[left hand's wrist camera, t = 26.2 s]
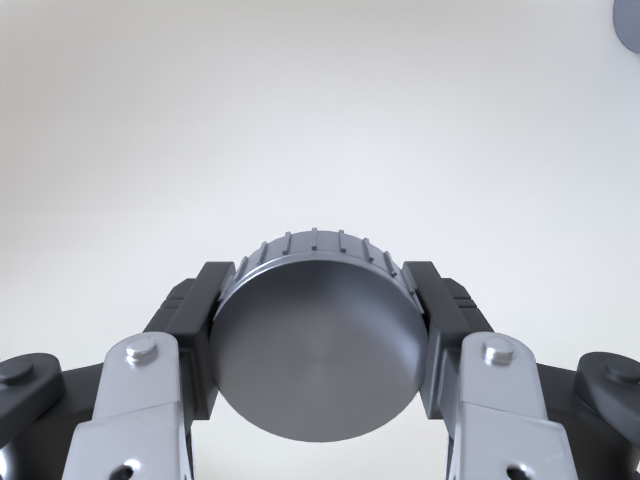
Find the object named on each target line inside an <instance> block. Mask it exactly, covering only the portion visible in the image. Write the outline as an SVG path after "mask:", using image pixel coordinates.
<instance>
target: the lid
mask: <svg viewBox="0 0 640 480" xmlns="http://www.w3.org/2000/svg"><path fill="white" fill-rule="evenodd" d="M218 301H220V302H221V303H220V305H219V308H218V310H217V312H216V314H215V317H214V319H213V323H212V326H211V330H210V334H209V347H210V355H211V364H212V372H213V378H214V381H215V383H216V386H217V387H218V389H219V391H220V392H221V394H222V396H223V397H224V398H225V400H226V401H227V402H228V404H229V405H230V406H231V407H232V408H233V409H234V410H235V411H236V412H237V413H238V414H239V415H241V416H242V417H243V418H245V419H246V420H247V421H249V422H250V423H252V424H254V425H255V426H257V427H258V428H260V429H263V430H265V431H267V432H269V433H271V434H274V435H277V436H280V437H283V438H288V439H292V440H297V441H305V442H334V441H341V440H346V439H351V438H354V437H358V436H361V435H364V434H366V433H369V432H371V431H373V430H375V429H377V428H379V427H381V426H383V425H385V424H386V423H388V422H389V421H390V420H392V419H393V418H395V417H396V416H397V415H398V414H399V413H400V412H402V411H403V410H404V409H405V408H406V407H407V405H408V404H409V403H410V402H411V401H412V400H413V398H414V397H415V395H416V394H417V392H418V391H419V389H420V387H421V385H422V383H423V381H424V376H425V368H426V359H427V350H428V340H429V339H428V331H427V328H426V325H425V322H424V319H423V317H425V313H424V310H423V308H422V306H421V304H420V301H419V299H418V297H417V295H416V292H415V290H414V289H413V288H412V286H411V283H410V281H409V279H408V276H407V274H406V272H405V270H404V269H401V270H400V269H399V268H398V266H397V265H396V264H395V263H394V262H393V261H392V258H391V256H390V253H389V252H387V251H386V252H385V253H383V252H382V251H381V250H380V249H378V248H377V247H375V246H373V245H372V244H370V243H369V239H367V238H364V239H363V240H362V239H359V238H357V237H354V236H351V235H347V234H344V231H343V230H339V233H338V232H332V231H317V228H312V231H307V232H299V233H295V234H291V232H286V235H285V236H284V237H281V238H278V239H276V240H274V241H272V242H270V243H268V244H267V242H266V241H265V242H263V243H262V245H261V248H260V249H258V250H257V251H255V252H254V253H253V254H252V255H251V256H250V257H249V258H247V257H246V256H245V257H244V258H243V259H242V262H241V264H240V266H239V269H238V270H237V272H236V273H235V275H234V276H233V275H230V277H229V279H228V281H227V283H226V285H225V287H224V289H223V292H222V294H221V296H220V298H219V300H218Z"/></svg>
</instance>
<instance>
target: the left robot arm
mask: <svg viewBox="0 0 640 480" xmlns="http://www.w3.org/2000/svg"><path fill="white" fill-rule="evenodd" d="M402 269H404V270H405V272H406V274H407V276H408V279H409V281H410V283H411V286H412V288H413V289H414V290H415V292H416V295H417V297H418V299H419V301H420V304H421V306H422V308H423V310H424V313H425V317H423V319H424V322H425V325H426V328H427V331H428V339H429V340H428V350H427V359H426V368H425V376H424V381H423V383H422V385H421V387H420V389H419V392H420V395H421V399H422V402H423V405H424V408H425V411H426V414H427V418H428V419H444V422H445V424H446V427H447V430H448V433H449V434H448V440H447V451H446V464H445V478H444V480H640V473H638V472H637V471H636V469H637V466H638V464H639V461H640V362H638V361H635V360H633V359H630V358H628V357H625V356H622V355H618V354H613V353H608V352H591V353H587V354H585V355H583V356H582V357H581V358H580V360H579V364H578V367H577V371H572V370H567V369H562V368H557V367H552V366H547V365H543V364H538V363H536V360H535V357H534V354H533V353H532V351H531V350H530V349H529V348H528V347H527V346H526V345H524V344H523V343H522V342H520V341H518V340H516V339H514V338H512V337H510V336H507V335H504V334H500V333H495V332H494V330H493V329H492V327H491V326H490V325H489V323H488V322H487V320H486V319H485V317H484V316H483V314H482V313H481V311H480V310H479V308H477V305H476V304H475V303H474V301H473V300H471V297H470V295H469V294H468V292H467V291H466V289H465V288H464V287H463V286H462V285H460V284H459V283H457V282H455V281H454V280H452V279H451V278H441V277H440V275H439V273H438V272H437V270H436V268H435V267H434V265H433V263H432V262H431V261H405V262H404V264H403V268H402ZM235 273H236V269H235V265H234V262H206V263H205V265H204V266H203V268H202V270H201V271H200V273H199V274H198V276H197V278H196V279H186V280H184V281H183V282H181V283H180V284H178V285H177V286H175V287H173V289H172V290H171V292H170V293H169V295H168V296H167V298H166V300H165V301H164V302H163V303H162V305H161V306H160V309H158V311H157V312H156V314H155V315H154V316H153V318H152V319H151V321H150V322H149V324H148V325H147V327H146V328H145V329H144V331H143V332H142V333H140V334H136V335H133V336H130V337H128V338H126V339H124V340H122V341H120V342H118V343H117V344H116V345H114V346H113V347H112V348H111V349H110V350H109V351H108V353H107V354H106V357H105V360H104V362H103V363H100V364H97V365H93V366H88V367H83V368H78V369H73V370H68V371H63V372H62V370H61V367H60V363H59V361H58V359H57V358H56V357H55V356H53V355H51V354H47V353H32V354H26V355H21V356H17V357H14V358H11V359H8V360H6V361H3V362H1V363H0V480H196V478H195V464H194V451H193V440H192V434H191V425H192V422H193V420H209V419H210V416H211V413H212V409H213V406H214V403H215V400H216V397H217V394H218V391H219V389H218V387H217V386H216V383H215V381H214V378H213V372H212V364H211V355H210V347H209V334H210V330H211V326H212V323H213V319H214V317H215V314H216V312H217V310H218V308H219V305H220V303H221V302H220V301H218V300H219V298H220V296H221V294H222V292H223V289H224V287H225V285H226V283H227V281H228V279H229V277H230V275H233V276H234V275H235Z"/></svg>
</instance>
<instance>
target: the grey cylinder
mask: <svg viewBox="0 0 640 480" xmlns="http://www.w3.org/2000/svg"><path fill="white" fill-rule="evenodd" d="M613 20H614V26H615V30H616V33H617V35H618V37H619V39H620V41H621V42H622V43H623V44H624V45H625V46H626V47H627V48H628V49H630V50H631V51H633V52H635V53H638V54H640V0H615V4H614V11H613Z"/></svg>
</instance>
